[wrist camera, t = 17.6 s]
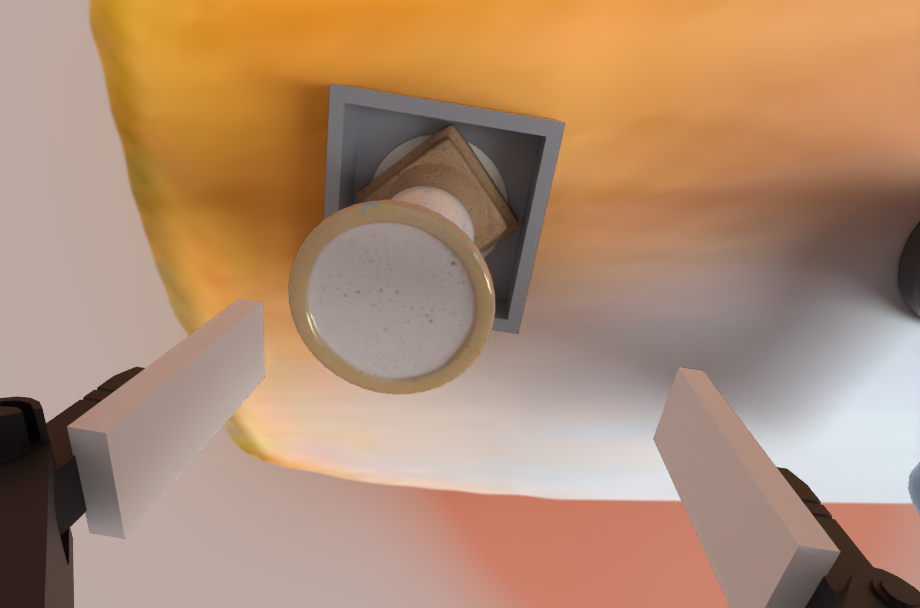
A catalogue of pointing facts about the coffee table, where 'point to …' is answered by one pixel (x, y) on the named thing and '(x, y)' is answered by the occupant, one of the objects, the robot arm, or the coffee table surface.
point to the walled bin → (494, 142)
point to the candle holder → (404, 272)
